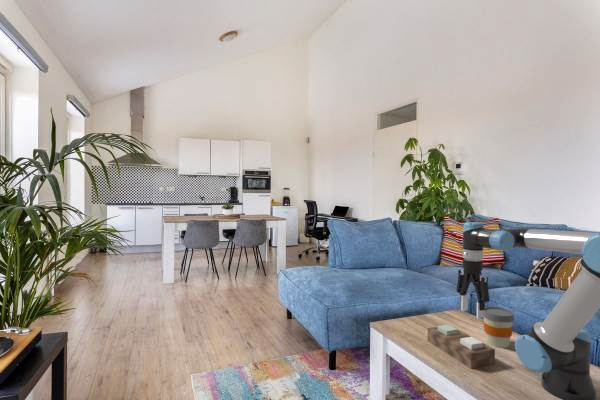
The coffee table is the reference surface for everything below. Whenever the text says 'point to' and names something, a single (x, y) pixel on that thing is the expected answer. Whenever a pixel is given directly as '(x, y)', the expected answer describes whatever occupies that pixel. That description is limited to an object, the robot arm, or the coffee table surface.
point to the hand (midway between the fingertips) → (471, 313)
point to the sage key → (447, 330)
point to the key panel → (461, 349)
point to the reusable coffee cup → (498, 326)
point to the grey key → (471, 343)
